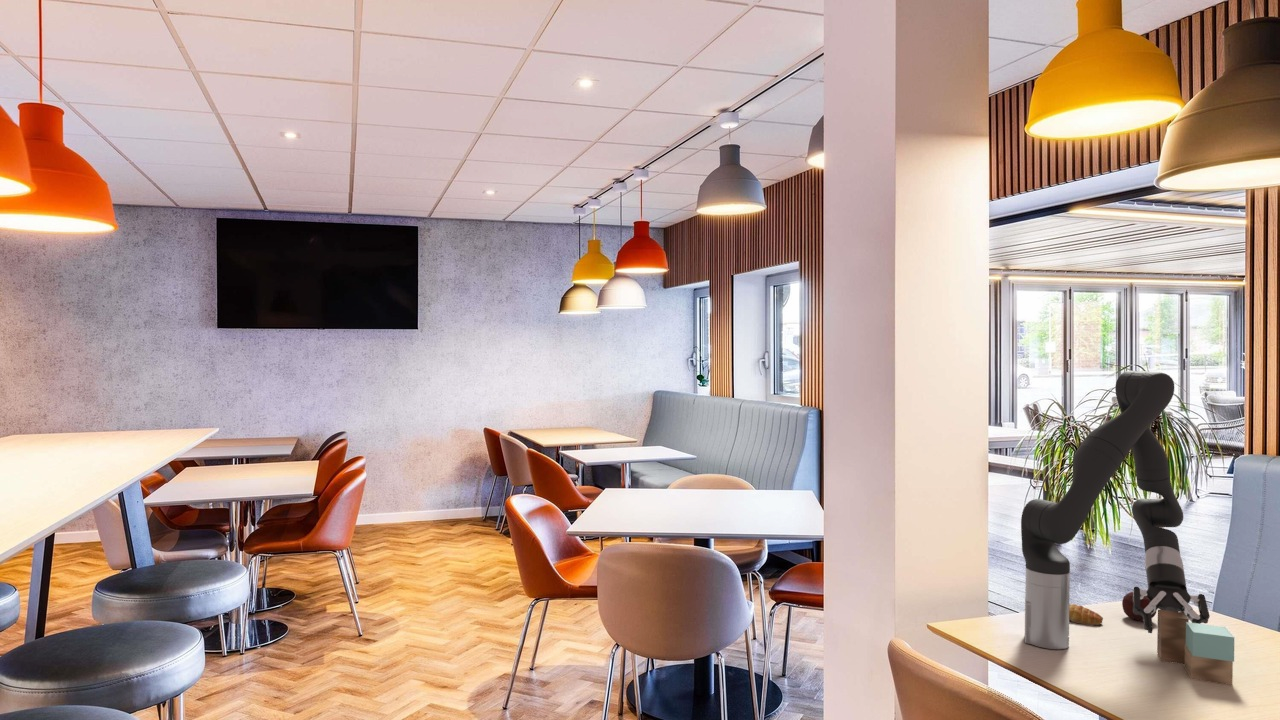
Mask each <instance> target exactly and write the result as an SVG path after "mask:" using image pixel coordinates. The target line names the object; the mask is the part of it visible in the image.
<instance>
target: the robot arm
mask: <svg viewBox="0 0 1280 720" xmlns="http://www.w3.org/2000/svg"><path fill="white" fill-rule="evenodd" d="M1114 390H1115V395H1116V396H1115V397H1116V402H1117V405H1118V407H1119V408H1118V409H1119V411H1120V413H1119V414H1118V415H1117V416H1115V417H1113V418H1111V419H1109V420H1108V421H1105V422H1104V423H1102V424H1101V425H1099V426H1097V427H1096V428H1094V429H1093V430H1092V431H1091V432H1090V433H1088V435H1087V436H1085V438H1084V440H1083V441H1082V442H1081V444H1080V445H1079V447H1078V448H1077V450H1076V451H1075V453H1074V455H1073V459H1072V480H1071V481H1072V482H1071V485H1070V487H1068V490H1067V492H1066V493H1065V494H1064V496H1063V497H1062V498H1061V499H1060V501H1058V502H1055V501H1051V500H1046V499H1040V498H1035V499H1031V500H1029V501H1028V502H1027V503H1026V504H1025V506H1024V508H1023V510H1022V513H1021V518H1020V530H1021V531H1020V532H1021V535H1020V536H1021V551H1022V555H1023V558H1024V560H1025V589H1024V590H1025V593H1024V643H1025V644H1030V645H1032V646H1036V647H1039V648H1042V649H1049V650H1064V649H1068V648H1069V645H1070V620H1069V604H1070V598H1071V597H1070V596H1071V595H1070V594H1071V593H1070V591H1071V590H1070V585H1071V580H1070V579H1071V575H1070V574H1071V573H1070V572H1071V571H1070V570H1071V563H1070V561H1069V558H1067V557H1066V556H1065V555H1064V554H1063V553H1062V552H1060V550H1059V549H1058V548H1057V546H1056V544H1058V545H1064V544H1067V543H1069V542H1071V541H1072V540H1073V539H1074V538H1075V537H1076V535H1077V534H1078V533H1079V531H1080V529H1081V528H1082V526H1083V524H1084V522H1085V521H1086V518H1087V516H1088V515H1089V513H1090V511H1091V509H1092V508H1093V506H1094V504H1095V502H1096V501H1097V499H1098V497H1099V496H1100V494H1101V493H1102V491H1103V489H1104V488H1105V487H1106V485H1107V484H1108V482H1109V481H1110V480H1111V478H1112V477H1113V475H1115V473H1116V471H1117V470H1118V469H1119V467H1120V466H1121V465H1122V463H1123V462H1124V461H1125V459H1126V458H1127V456H1128V455H1129V453H1130V451H1132V454H1133V455H1132V456H1133V461H1134V469H1135V478H1136V484H1137V485H1136V486H1137V487H1138V488H1139V490H1141V491H1143V492H1148V493H1153V494H1159V495H1160V496H1161V497H1162V498H1138V499H1137V500H1136V501H1134V503H1132V507H1131V514H1132V517H1133V519H1134V522H1135V523H1136V526H1137V527H1138V529H1139V530H1140V532H1141V535H1142V540H1143V544H1144V545H1143V546H1144V555H1145V559H1144V564H1145V567H1144V568H1145V570H1144V571H1145V572H1146V573H1145V574H1146V581H1147V590H1146V589H1141V588H1140V587H1139V586H1134V587H1133V589H1132V592H1133V613H1134V614H1136V615H1138V614H1139V615H1141V616H1142V617H1143V628H1144V630H1145V631H1147V633H1148V634H1153V630H1154V627H1153V620H1152V619H1153V618H1151V615H1152V614H1153V613H1154V612H1155V611H1156V610H1157V611H1158V609H1159V610H1167V611H1175V612H1182V613H1185V615H1186V616H1187V618H1188V619H1189V622H1190V623H1198V624H1208V622H1209V619H1210V616H1211V615H1210V612H1209V608H1208V604H1207V599H1206V596H1205V595H1204V594H1203V593H1199V594H1198V595H1191V594H1190V593H1189V592H1188V589H1187V582H1186V575H1185V568H1184V563H1183V559H1182V556H1181V550H1180V544H1179V539H1178V536H1177V534H1176V533H1175V532H1174V531H1172V530H1170V529H1168V528H1178V527H1179V526H1181V524H1182V523H1183V520H1184V512H1183V509H1182V507H1181V504H1180V502H1179V501H1178V499H1177V497H1176V495H1175V491H1174V489H1173V487H1172V482H1171V476H1170V467H1169V462H1168V457H1167V454H1166V451H1165V450H1164V448H1163V446H1162V445H1161V443H1160V441H1159V440H1158V438H1157V436H1156V435H1155V434H1154V432H1153V430H1152V429H1151V427H1150V425H1151V424H1152V423H1154V422H1155V420H1156V419H1157V418H1158V417H1159V416H1160V415H1161V413H1163V411H1165V409H1166V408H1167V407H1168V405H1169V404H1170V402H1171V401H1172V399H1173V397H1174V394H1175V382H1174V380H1173V378H1172V377H1171V376H1170V375H1169V374H1167V373H1165V372H1160V371H1150V370H1145V371H1144V370H1126V371H1124V372H1122V373H1121V374H1120V375H1119V376H1118V377H1117V379H1116V382H1115V389H1114ZM1144 596H1147V598H1148V599H1149V600H1150V601H1151V602H1150V603H1149V605H1148V606H1147V607H1146V608H1145V609H1144V608H1141V607H1140V599H1143V597H1144ZM1190 602H1193V604H1194V605H1195V606H1196V607H1198V612H1199V614H1198V613H1197V612H1196V611H1195V610H1194V608H1193V607H1192V606H1191V605H1190V604H1189V603H1190Z"/></svg>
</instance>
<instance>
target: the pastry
mask: <svg viewBox="0 0 1280 720" xmlns="http://www.w3.org/2000/svg"><path fill="white" fill-rule="evenodd" d="M1103 620H1104V618H1103V616H1101V615H1100V614H1099V613H1098V612H1095V611H1093V610H1092V609H1089V608H1088V607H1084V606H1083V605H1078V604H1075V603H1073V604H1070V603H1069V621H1071V622H1072V623H1077V624H1082V625H1087V626H1088V625H1089V626H1094V625H1095V626H1099V625H1101V624H1103Z"/></svg>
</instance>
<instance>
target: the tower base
mask: <svg viewBox="0 0 1280 720" xmlns="http://www.w3.org/2000/svg"><path fill="white" fill-rule="evenodd" d="M1183 666H1184V669H1185V671H1186V673H1187V674H1188V676H1189V678H1190V679H1191V680H1195V681H1201V682H1209V683H1214V684H1220V685H1227V686H1233V677H1234V676H1233V672H1234V671H1233V670H1234V669H1233V668H1234V667H1233V666H1234V662H1232V661H1225V660H1218V659H1211V658H1204V657H1196V656H1193V655H1192V654H1191V652H1190V651H1189V649H1188V648H1187V646H1186V645H1185V664H1183Z"/></svg>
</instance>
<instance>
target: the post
mask: <svg viewBox="0 0 1280 720" xmlns="http://www.w3.org/2000/svg"><path fill="white" fill-rule="evenodd" d="M1186 622H1190V620H1189V619H1188V618H1187V616H1186V615H1185V613H1182V612H1175V611H1167V610H1160V609H1157V633H1156V634H1157V643H1156V644H1157V646H1156V647H1157V648H1156V649H1157V650H1156V653H1158V654H1157V656H1158V655H1159V656H1158V657H1159V660H1160V661H1161V662H1167V663H1172V662H1173V663H1174V664H1180V665H1185V645H1186Z"/></svg>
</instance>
